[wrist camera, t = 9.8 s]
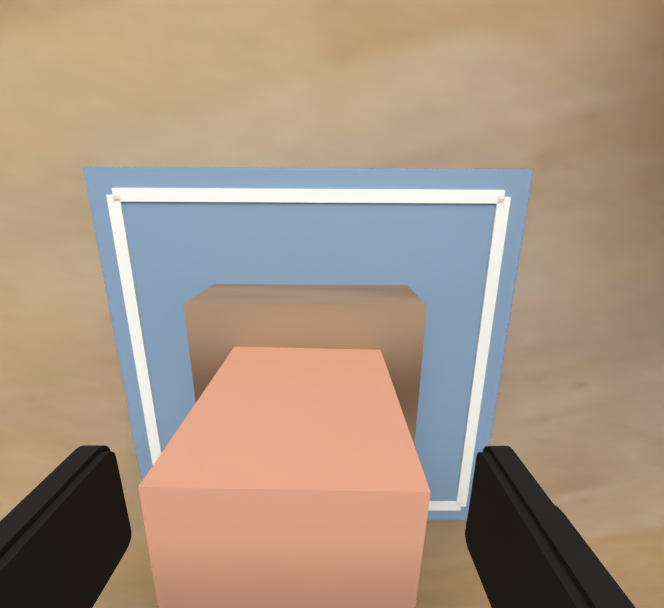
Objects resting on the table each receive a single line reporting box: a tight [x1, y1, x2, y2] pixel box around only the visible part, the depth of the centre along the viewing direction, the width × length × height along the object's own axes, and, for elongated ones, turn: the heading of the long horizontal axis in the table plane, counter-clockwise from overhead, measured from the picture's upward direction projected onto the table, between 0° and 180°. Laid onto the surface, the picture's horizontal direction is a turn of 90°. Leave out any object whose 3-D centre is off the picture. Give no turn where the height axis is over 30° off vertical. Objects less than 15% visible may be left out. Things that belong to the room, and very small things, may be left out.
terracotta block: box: [138, 347, 431, 608], centre depth 9 cm, size 5×5×6 cm
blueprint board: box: [83, 167, 533, 520], centre depth 16 cm, size 17×17×1 cm
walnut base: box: [184, 284, 427, 446], centre depth 14 cm, size 8×8×3 cm
